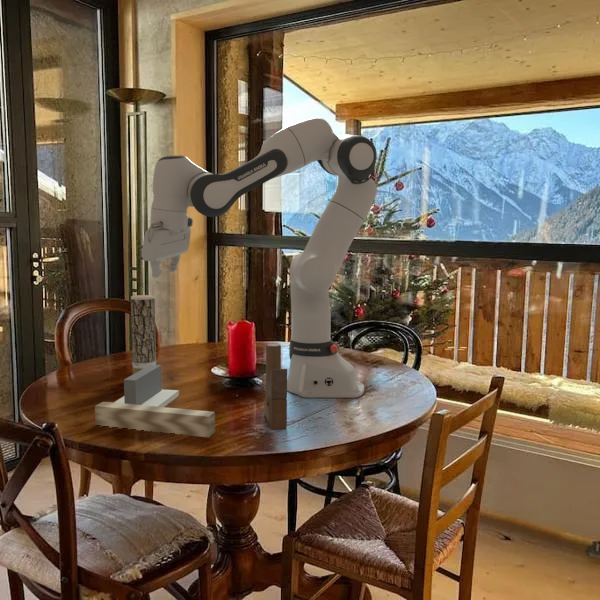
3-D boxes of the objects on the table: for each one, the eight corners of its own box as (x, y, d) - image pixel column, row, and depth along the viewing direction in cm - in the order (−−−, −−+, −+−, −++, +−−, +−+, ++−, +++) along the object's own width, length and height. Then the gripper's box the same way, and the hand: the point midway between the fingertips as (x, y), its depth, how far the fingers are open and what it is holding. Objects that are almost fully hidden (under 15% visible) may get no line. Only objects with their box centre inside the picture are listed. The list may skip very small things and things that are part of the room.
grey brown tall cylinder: (142, 383, 173) (140, 298, 170) (128, 379, 177) (125, 296, 174) (161, 379, 179) (159, 296, 175) (146, 375, 183) (144, 294, 180)
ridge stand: (178, 395, 162) (178, 365, 161) (152, 416, 144) (151, 382, 143) (137, 393, 164) (136, 362, 163) (105, 413, 146) (104, 379, 145)
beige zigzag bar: (215, 433, 134) (214, 411, 133) (209, 438, 131) (208, 416, 130) (104, 422, 141) (103, 401, 140) (95, 427, 137) (94, 406, 137)
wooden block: (271, 430, 136) (271, 352, 133) (264, 415, 146) (264, 343, 144) (287, 429, 137) (288, 352, 134) (278, 414, 147) (279, 342, 145)
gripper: (161, 225, 140) (157, 282, 143) (195, 219, 159) (191, 270, 162) (137, 221, 141) (133, 278, 144) (173, 216, 160) (170, 266, 164)
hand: (164, 274), depth 153 cm, fingers open, 8 cm apart
